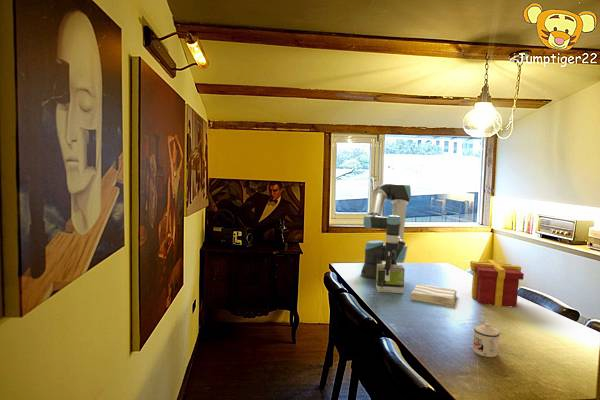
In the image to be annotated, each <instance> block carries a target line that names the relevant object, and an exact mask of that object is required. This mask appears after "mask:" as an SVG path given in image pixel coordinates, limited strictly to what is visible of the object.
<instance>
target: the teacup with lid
mask: <svg viewBox="0 0 600 400" xmlns="http://www.w3.org/2000/svg"><path fill="white" fill-rule="evenodd" d="M473 330H474V334H473V335H474V336H473V346H472V347H473V348H472V350H473V351H474V353H475V354H477V355H479V356H482V357H485V358H496V357H497V355H498V353H499V339H500V331H499V330H498V329H497V328H495V327H493V326H491V324H490V323H489V322H485V323H484V324H481V325H476V326H475V327H474V328H473Z"/></svg>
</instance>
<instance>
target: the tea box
mask: <svg viewBox="0 0 600 400" xmlns="http://www.w3.org/2000/svg"><path fill="white" fill-rule="evenodd" d="M384 268H385V263H382V264H377V273H376V279H375V288H376V292H377V293H378V292H379V293H390V294H391V293H392V294H394V293H395V294H404V290H405V289H404V288H405V268H404V266H403V265H402V264H397V265H393V264H391V267H390V281H385V269H384Z"/></svg>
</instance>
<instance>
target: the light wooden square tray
mask: <svg viewBox="0 0 600 400" xmlns="http://www.w3.org/2000/svg"><path fill="white" fill-rule="evenodd" d="M456 298H457V290H456V289H455V288H454V289H453V288H446V287H441V286H434V285H427V284H422V283H421V284H420V283H417V284H416V285H415V287H414V288H413V290H412V291H411V293H410V300H413V301H418V302H425V303H429V304H434V305H435V304H437V305H441V306H447V307H455V302H456Z"/></svg>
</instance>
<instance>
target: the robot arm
mask: <svg viewBox="0 0 600 400" xmlns="http://www.w3.org/2000/svg"><path fill="white" fill-rule="evenodd" d="M386 201H390V203H391V204H392V212H391V214H389V215H387V216H382V214H383V210H384V206H385V202H386ZM410 202H412V192H411V185H410V184H409V183H403V182H402V183H397V182H384V183H381V184H379V185H378V186H377V187H376V188H375V189H374V190H373V193H372V201H371V206H370V209H369V213H368V215H364V216H363V227H364V228H366V229H367V228H368V229H378V230H386V233H385V242H384V240H377V239H376V240H370V241H367V242H366V243H365V246H364V261H363V265H362V269H361V272H360V275H361V276H362V277H365V278H368V279H373V280H376V273H377V264H383V262H385V263H384V264H385V268H384V269H385V281H390V267H391V264H393V265H398V264H403V263H404V262H405V260H406V257H407V252H408V245H406V242H405V240H404V236H405V222H406V212H407V211H406V210H407V206H408V205H409V203H410Z"/></svg>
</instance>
